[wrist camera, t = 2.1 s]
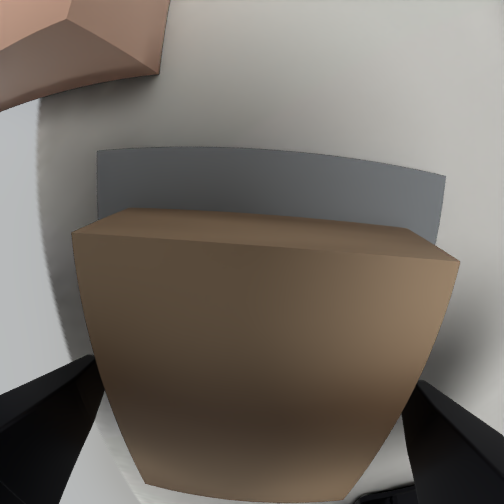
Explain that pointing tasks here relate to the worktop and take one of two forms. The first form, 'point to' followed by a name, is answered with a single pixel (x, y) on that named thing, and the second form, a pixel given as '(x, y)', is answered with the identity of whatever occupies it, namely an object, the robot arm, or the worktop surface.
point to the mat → (270, 185)
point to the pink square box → (76, 44)
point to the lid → (257, 344)
